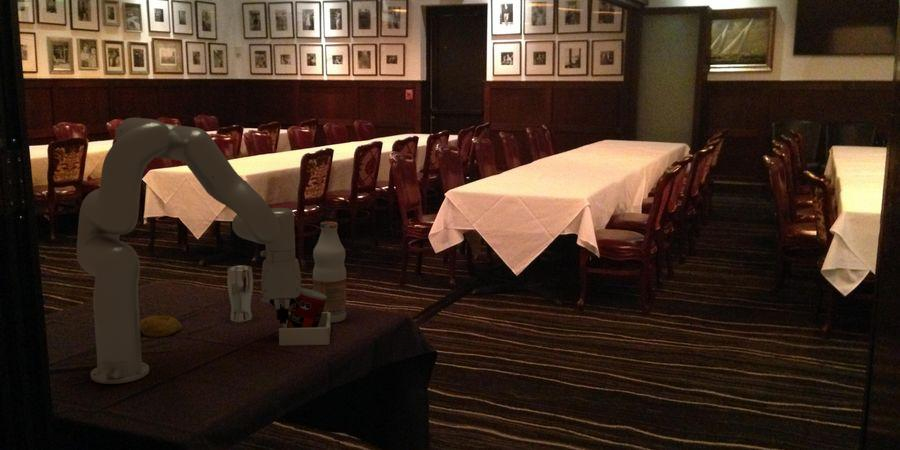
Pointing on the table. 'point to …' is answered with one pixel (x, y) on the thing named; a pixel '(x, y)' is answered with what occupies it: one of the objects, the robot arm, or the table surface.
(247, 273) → the beer glass
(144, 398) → the table surface
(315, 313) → the canned food
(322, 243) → the fruit juice
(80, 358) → the table surface
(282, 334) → the box
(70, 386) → the table surface
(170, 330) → the bagel
